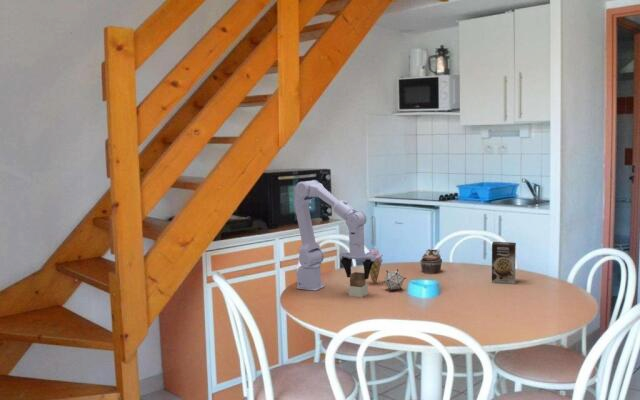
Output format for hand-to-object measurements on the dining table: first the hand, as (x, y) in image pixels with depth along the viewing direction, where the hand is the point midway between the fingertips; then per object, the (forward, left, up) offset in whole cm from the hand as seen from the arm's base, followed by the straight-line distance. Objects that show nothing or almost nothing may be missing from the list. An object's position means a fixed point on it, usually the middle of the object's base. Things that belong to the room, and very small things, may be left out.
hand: (357, 277), depth 224 cm
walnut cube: (0, 0, -3) cm, 3 cm away
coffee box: (+46, +41, -7) cm, 62 cm away
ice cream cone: (-1, +18, -7) cm, 19 cm away
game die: (+10, +12, -7) cm, 17 cm away
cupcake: (+13, +47, -7) cm, 49 cm away
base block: (0, 0, -7) cm, 7 cm away
